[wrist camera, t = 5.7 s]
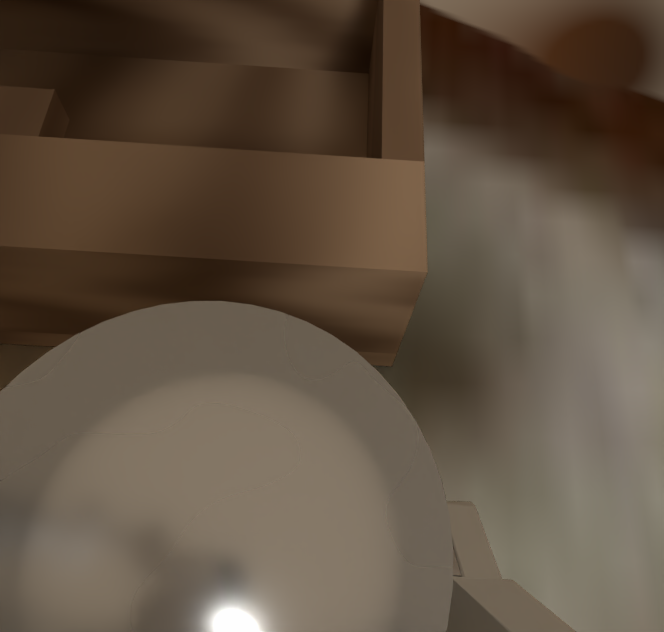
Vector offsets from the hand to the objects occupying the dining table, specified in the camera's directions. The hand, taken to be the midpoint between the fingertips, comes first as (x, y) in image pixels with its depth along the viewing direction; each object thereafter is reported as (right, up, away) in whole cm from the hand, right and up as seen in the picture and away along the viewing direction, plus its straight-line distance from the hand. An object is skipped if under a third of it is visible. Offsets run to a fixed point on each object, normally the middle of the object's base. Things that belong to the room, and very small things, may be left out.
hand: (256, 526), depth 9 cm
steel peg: (0, -3, +6) cm, 7 cm away
